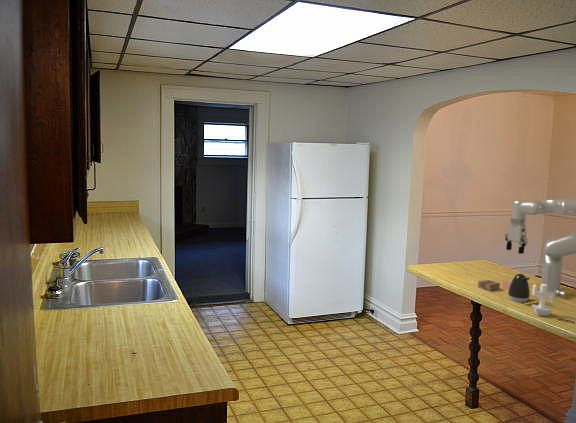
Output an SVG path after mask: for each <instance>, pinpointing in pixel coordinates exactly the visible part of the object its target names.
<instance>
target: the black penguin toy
mask: <svg viewBox="0 0 576 423" xmlns="http://www.w3.org/2000/svg"><path fill="white" fill-rule="evenodd" d="M511 280H512V282H511V284H510V287H509V290H507V291H508V293H507V295H508V297H509V299H510V300H511V301H512V302H515V303H519V304H525V303H527V301H529V298H530V297H531V296H530V295H531V292H530V285H529V282H528V281H529V280H530V277H526V275H524V274H523V273H517V274H515V276H514V277H513V278H512V279H511Z"/></svg>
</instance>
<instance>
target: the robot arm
mask: <svg viewBox="0 0 576 423" xmlns="http://www.w3.org/2000/svg"><path fill="white" fill-rule="evenodd" d="M539 214H558V215H563V216H565V215H566V216H569V215H570V216H571V215H573V216H574V215H576V198H560V199H558V198H557V199H540V200H539V199H537V200H536V199H535V200H532V201H526V200H523V199H522V200H521V199H515V200H513V201H512V206H511V216H510V223H509V227H508V231H507V233H505V234H504V238H505V239H504V240H505V243H506V247H505V248H506V251H512V246H513V242H514V243H518V244H519V246H518V254H519V255H522V254H523V255H524V254H525V253H524V252H525V248H526V246H527V245H528V242H529V239H528V238H527V225H526V224H527V223H526V222H527V221H526V218H527V215H531V216H536V215H539ZM572 254H573V255H574V254H576V232H571V233H568V234H567V236H564V237H560V238H556V237H552V238H549V239H547V240H546V241H545V244H544V246H543V260H542V268H541V269H542V270H541V279H540V280H541V281H540V285H541V284H545V285H547V289H546V292H553V294H554V297H555V298H561V297H563V296H564V297H565V296H566V294H567V292H566V291H564V290H563V288H562V287H561V283H562V282H561V281H562V280H561V279H562V274H563V273H562V271H563V263H564V257H566V256H570V255H572ZM537 291H540V289H537Z"/></svg>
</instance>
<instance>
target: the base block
mask: <svg viewBox="0 0 576 423" xmlns="http://www.w3.org/2000/svg"><path fill="white" fill-rule="evenodd" d="M477 283H478V284H477V289H478V288H479V289H478V290H481V289H483V290H482V291H484V290H486V291H485V292H487V291H489V292H488V293H492V292H491V291H495V292H498V291H497V290H501V287H500V286H501V283H500V282H498V281H494V280H491V279H483V280H478V281H477Z"/></svg>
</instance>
